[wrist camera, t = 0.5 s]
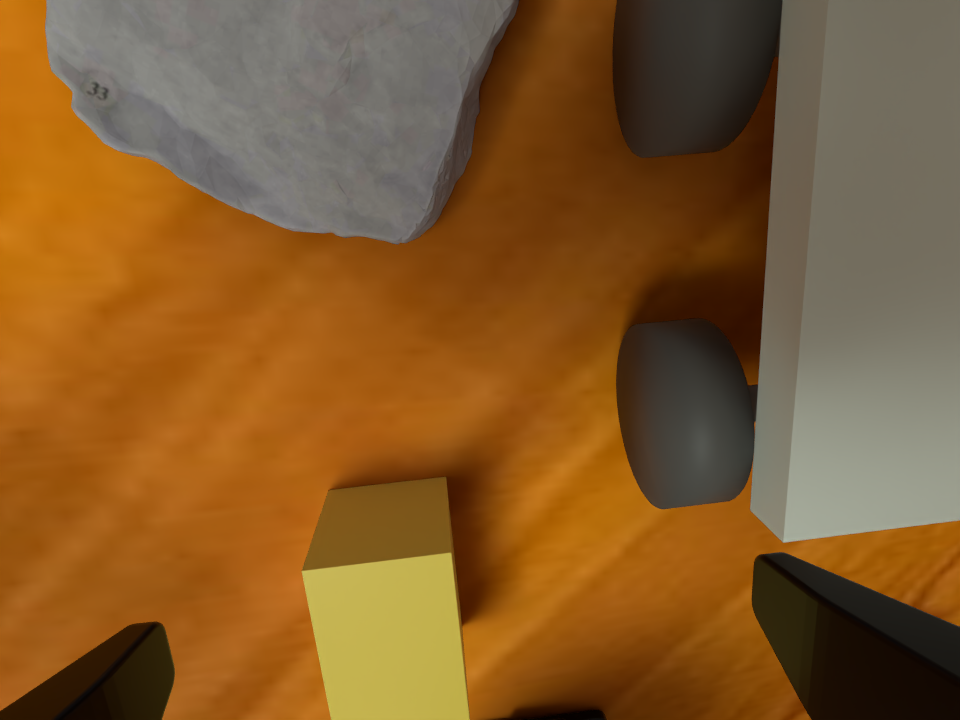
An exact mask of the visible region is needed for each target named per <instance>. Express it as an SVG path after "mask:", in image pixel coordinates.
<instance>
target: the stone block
mask: <svg viewBox="0 0 960 720" xmlns="http://www.w3.org/2000/svg"><path fill="white" fill-rule="evenodd" d="M518 3H519V0H47V13H46V24H45V31H46V38H47V49H48V58H49V62H50V66H51V70H52V72H53V73H54V74H55V75H57V76H58V77H59V78H60V79H61V80H62V81H63V82H64V83H65V84H66V85H67V86H68V87H69V88H70V89H71V91H72V92H73V96H72V105H71V107H72V109H73V110H74V112H75V114H76V115H77V116H78V117H79V118H80V119H81V120H82V121H84V122H85V123H86V124H87V125H88V126H89V127H90V128H91V129H92V130H93V132H94V133H95V134H96V135H97V136H98V137H99V138H100V139H101V140H102V141H103V143H105V144H107V145H109V146H110V147H112V148H114V149H116V150H118V151H120V152H123V153H126V154H129V155H132V156H138V157H145V158H148V159H151V160H153V161H155V162H157V163H159V164H161V165H162V166H164V167H166V168H168V169H169V170H171V171H172V172H173V173H174V174H175V175H176V176H177V177H178V178H180V179H182V180H184V181H185V182H187V183H189V184H190V185H192V186H194V187H196V188H198V189H199V190H201V191H202V192H205V193H207V194H209V195H211V196H212V197H214V198H216V199H218V200H220V201H222V202H224V203H226V204H227V205H229V206H232V207H234V208H237V209H239V210H242V211H244V212H246V213H248V214H254V215H256V216H258V217H260V218H262V219H264V220H266V221H268V222H271V223H273V224H276V225H278V226H280V227H283V228H286V229H289V230H292V231H299V232H315V233H330V232H332V233H334V234H335V235H337V236H341V237H345V238H348V237H356V236H360V237H368V238H372V239H376V240H383V241H387V242H390V243H392V244H399V243H400V242H401V243H407V242H409V241H412V240H415V239H416V238H418V237H420V236H421V235H422V234H423V233H424V232H425V231H426V230H427V229H429V228H430V227H432V226H433V225H434V224H435V222H436V221H437V219H438V218H439V216H440V215H441V212H442V209H443V208H444V206H445V205H446V203H447V201H448V199H449V197H450V195H451V193H452V190H453V188H454V185H455V183H456V182H457V180H458V179H459V178H460V177H461V176H462V174H463V173H464V170H465V167H466V164H467V162H468V160H469V158H470V157H471V154H472V142H473V136H474V127H475V123H476V117H477V115H478V114H479V112H480V108H479V88H480V85H481V82H482V80H483V78H484V76H485V74H486V72H487V69H488V67H489V65H490V63H491V61H492V57H493V53H494V50H495V47H496V46H497V45H498V43H499V42H500V41H501V40H502V38H503V35H504V33H505V30H506V28H507V26H508V24H509V23H510V22H511V20H512V19H513V18H514V16H515V13H516V10H517V6H518Z"/></svg>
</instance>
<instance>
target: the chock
mask: <svg viewBox="0 0 960 720" xmlns="http://www.w3.org/2000/svg"><path fill="white" fill-rule="evenodd" d="M302 575H303V580H304V585H305V590H306V595H307V600H308V605H309V610H310V615H311V620H312V625H313V630H314V636H315V641H316V646H317V651H318V656H319V661H320V666H321V671H322V676H323V681H324V686H325V691H326V696H327V701H328V706H329V711H330V716H331V720H470V716H469V704H468V691H467V679H466V667H465V655H464V643H463V630H462V620H461V611H460V601H459V592H458V583H457V574H456V564H455V555H454V546H453V536H452V527H451V518H450V509H449V499H448V490H447V481H446V477H439V478H430V479H422V480H413V481H404V482H395V483H387V484H378V485H369V486H360V487H352V488H343V489H334V490H328V493H327V496H326V499H325V502H324V505H323V508H322V511H321V514H320V517H319V520H318V523H317V526H316V529H315V533H314V536H313V539H312V542H311V545H310V548H309V551H308V554H307V557H306V560H305V563H304V566H303V569H302Z"/></svg>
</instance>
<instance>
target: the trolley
mask: <svg viewBox="0 0 960 720" xmlns="http://www.w3.org/2000/svg"><path fill="white" fill-rule="evenodd" d="M774 57H779V64H778V80H777V95H776V111H775V127H774V143H773V159H772V175H771V190H770V206H769V222H768V238H767V254H766V270H765V285H764V301H763V317H762V333H761V349H760V365H759V380H758V385H750V386H748V385H747V381H746V377H745V375H744V372H743V369H742V366H741V363H740V361H739V359H738V356H737V354H736V352H735V351H734V349H733V347H732V345H731V343H730V342H729V340H728V339H727V337H726V336H725V335H724V333H723V332H722V331H721V330H720V329H719V328H718V327H717V326H716V325H715V324H713V323H712V322H710V321H708V320H706V319H702V318H693V319H683V320H673V321H663V322H653V323H643V324H636V325H633V326H632V327H630V328H629V329H628V331H627V332H626V334H625V336H624V338H623V340H622V343H621V347H620V350H619V356H618V363H617V377H616V389H617V406H618V415H619V422H620V428H621V433H622V438H623V443H624V447H625V451H626V454H627V458H628V461H629V464H630V467H631V469H632V472H633V475H634V477H635V479H636V481H637V483H638V485H639V487H640V489H641V491H642V492H643V494H644V495H645V497H646V498H647V499H648V501H649V502H650V503H651V504H652V505H654V506H655V507H657V508H659V509H669V508H677V507H685V506H693V505H702V504H710V503H718V502H726V501H730V500H732V499H735V498H736V497H737V496H738V495H739V494H740V493H741V491H742V490H743V489H744V487H745V485H746V483H747V481H748V478H749V475H750V471H751V467H752V462H753V475H752V491H751V507H750V510H751V511H752V512H753V513H754V514H755V515H756V516H757V517H758V518H759V519H760V520H761V521H762V522H763V523H764V524H765V525H766V526H767V527H768V528H769V529H770V530H771V531H772V532H773V533H774V534H775V535H776V536H777V537H778V538H779V539H780V540H781V541H782V542H791V541H799V540H807V539H815V538H823V537H831V536H839V535H847V534H855V533H863V532H871V531H879V530H886V529H894V528H902V527H910V526H918V525H926V524H934V523H942V522H950V521H958V520H960V0H617V5H616V13H615V22H614V34H613V85H614V96H615V104H616V110H617V115H618V120H619V124H620V127H621V131H622V134H623V136H624V139H625V141H626V143H627V145H628V146H629V148H630V149H631V151H632V152H633V153H634V154H636V155H637V156H639V157H659V156H671V155H683V154H696V153H708V152H715V151H719V150H721V149H723V148H725V147H727V146H728V145H729V144H730V143H731V142H733V141H734V140H735V139H736V138H737V136H738V135H739V134H740V133H741V132H742V130H743V129H744V127H745V126H746V124H747V123H748V122H749V120H750V118H751V116H752V114H753V113H754V111H755V109H756V107H757V104H758V102H759V100H760V98H761V95H762V93H763V90H764V87H765V85H766V82H767V79H768V76H769V73H770V69H771V66H772V62H773V58H774ZM754 422H756V428H755V433H754ZM754 438H755V444H754ZM753 455H754V460H753Z"/></svg>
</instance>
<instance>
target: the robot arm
mask: <svg viewBox="0 0 960 720" xmlns="http://www.w3.org/2000/svg"><path fill="white" fill-rule="evenodd" d="M752 607H753V611H754V613H755V616H756V618H757V620H758V622H759V624H760V626H761V628H762V630H763V631H764V633H765V635H766V637H767V639H768V641H769V643H770V645H771V646H772V648H773V650H774V652H775V654H776V656H777V658H778V660H779V661H780V663H781V665H782V667H783V669H784V671H785V673H786V675H787V676H788V678H789V680H790V682H791V684H792V686H793V688H794V690H795V692H796V693H797V695H798V697H799V699H800V701H801V702H802V704H803V706H804V708H805V709H806V711H807V713H808V714H809V716H810V718H811V719H812V720H960V627H959V626H956V625H954V624H952V623H949V622H947V621H945V620H942V619H940V618H938V617H935V616H933V615H930V614H928V613H926V612H923V611H921V610H919V609H916V608H914V607H912V606H909V605H907V604H905V603H902V602H900V601H897V600H895V599H893V598H890V597H888V596H886V595H883V594H881V593H879V592H876V591H874V590H871V589H869V588H867V587H864V586H862V585H860V584H857V583H855V582H853V581H850V580H848V579H846V578H843V577H841V576H838V575H836V574H834V573H831V572H829V571H827V570H824V569H822V568H820V567H817V566H815V565H813V564H810V563H808V562H805V561H803V560H801V559H798V558H796V557H794V556H791V555H789V554H787V553H782V552H779V553H770V554H761V555H759V556H757V557H756V559H755V561H754V570H753V586H752ZM174 677H175V668H174V663H173V659H172V655H171V651H170V647H169V643H168V639H167V635H166V631H165V628H164V626H163V625H162V624H161V623H159V622H146V623H137V624H132V625H129V626H127V627H126V628H124V629H123V630H121V631H120V632H118V633H117V634H115V635H114V636H112V637H111V638H109V639H108V640H106V641H105V642H103V643H102V644H100V645H99V646H97V647H96V648H94V649H93V650H91V651H90V652H88V653H87V654H85V655H84V656H82V657H81V658H79V659H78V660H76V661H75V662H73V663H72V664H70V665H69V666H67V667H66V668H64V669H63V670H61V671H60V672H58V673H57V674H55V675H54V676H52V677H51V678H49V679H48V680H46V681H45V682H43V683H42V684H40V685H39V686H37V687H36V688H34V689H33V690H31V691H30V692H28V693H27V694H25V695H24V696H22V697H21V698H19V699H18V700H16V701H15V702H13V703H12V704H10V705H9V706H7V707H6V708H4V709H3V710H1V711H0V720H162V717H163V714H164V711H165V708H166V705H167V702H168V699H169V696H170V693H171V690H172V687H173V683H174ZM527 720H607V719H606V716H605V714H604V713H603V712H602V711H600V710H590V711H583V712H576V713H569V714H562V715H555V716H548V717H541V718H534V719H527Z"/></svg>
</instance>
